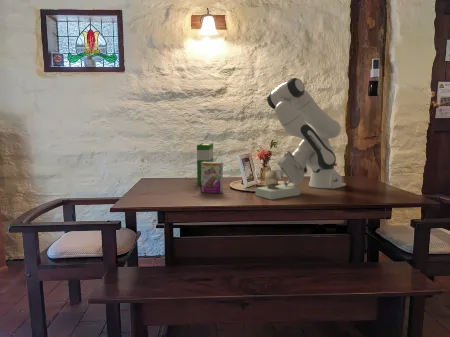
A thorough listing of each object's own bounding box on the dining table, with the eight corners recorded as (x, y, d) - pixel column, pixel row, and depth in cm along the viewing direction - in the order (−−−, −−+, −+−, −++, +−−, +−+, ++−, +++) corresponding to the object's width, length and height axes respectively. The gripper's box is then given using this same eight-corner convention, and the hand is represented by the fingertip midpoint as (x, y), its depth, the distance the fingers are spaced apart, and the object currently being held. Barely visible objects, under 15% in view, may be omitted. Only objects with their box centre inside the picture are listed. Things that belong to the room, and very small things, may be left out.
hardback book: (201, 180, 246) (201, 143, 243) (213, 180, 245) (213, 143, 242) (197, 184, 229) (196, 145, 225) (209, 185, 228) (209, 145, 225)
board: (283, 191, 208) (284, 183, 208) (299, 194, 198) (300, 187, 198) (255, 195, 197) (255, 187, 196) (270, 199, 187) (271, 191, 187)
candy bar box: (200, 192, 205) (200, 162, 202) (203, 191, 209) (203, 161, 207) (220, 193, 202) (220, 163, 199) (223, 192, 206) (223, 162, 204)
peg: (272, 192, 200) (270, 174, 202) (281, 190, 196) (279, 171, 198) (264, 192, 196) (262, 173, 198) (273, 190, 192) (271, 171, 194)
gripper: (293, 150, 192) (277, 171, 189) (308, 173, 205) (294, 193, 202) (284, 147, 197) (268, 168, 194) (299, 170, 210) (285, 190, 207)
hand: (282, 181), depth 198 cm, fingers open, 5 cm apart
